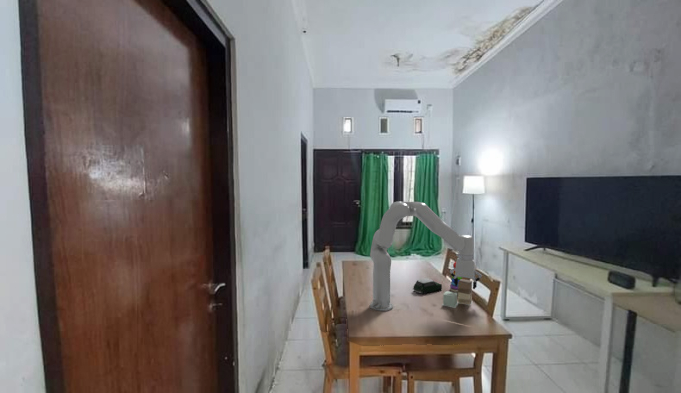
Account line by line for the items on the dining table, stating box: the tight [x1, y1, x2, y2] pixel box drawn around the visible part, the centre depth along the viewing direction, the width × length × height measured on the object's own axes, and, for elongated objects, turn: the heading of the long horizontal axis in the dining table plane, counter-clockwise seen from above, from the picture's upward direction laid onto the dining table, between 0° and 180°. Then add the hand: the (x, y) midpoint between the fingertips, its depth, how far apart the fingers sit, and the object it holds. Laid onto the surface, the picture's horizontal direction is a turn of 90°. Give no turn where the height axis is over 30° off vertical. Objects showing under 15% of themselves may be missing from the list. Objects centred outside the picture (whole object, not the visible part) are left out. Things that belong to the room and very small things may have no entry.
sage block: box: [442, 290, 458, 308], centre depth 171 cm, size 6×6×6 cm
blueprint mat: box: [441, 300, 474, 309], centre depth 171 cm, size 20×17×1 cm
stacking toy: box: [449, 261, 463, 293], centre depth 192 cm, size 8×8×19 cm
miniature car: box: [412, 277, 443, 295], centre depth 192 cm, size 9×18×8 cm, turn 117°
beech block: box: [457, 291, 473, 306], centre depth 174 cm, size 6×6×6 cm
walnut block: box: [457, 278, 473, 294], centre depth 173 cm, size 6×6×6 cm
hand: (465, 286), depth 173 cm, fingers open, 9 cm apart
